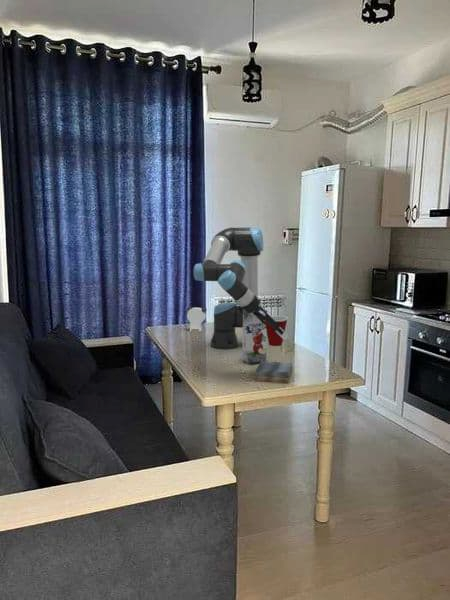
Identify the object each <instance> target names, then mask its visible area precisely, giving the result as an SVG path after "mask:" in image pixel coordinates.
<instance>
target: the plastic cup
mask: <svg viewBox="0 0 450 600" xmlns="http://www.w3.org/2000/svg"><path fill="white" fill-rule="evenodd" d="M270 317H271V318H272V319H274V320H275V321H276V322H277V323H278V324H279V325H280V327H281V328H282V329H283V330H284V331H285V332H286V326H287V322H288V320H289V317H288V316H286V315H285V316H284V315H271V316H270ZM263 321H264V320H263ZM264 322H265V321H264ZM265 326H266V331H267V344H268V345H269V346H271V347H281V346H283V343H284V340H283V339H282V338H281V337H280V336H279V335H278V334H277V333H276V332H274V329H273V328H272V327H271V326H270V325H269V324H268V323H267V322H265Z"/></svg>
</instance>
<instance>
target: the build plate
mask: <svg viewBox="0 0 450 600" xmlns="http://www.w3.org/2000/svg"><path fill="white" fill-rule="evenodd" d="M292 372H293V362H285V361H284V362H283V361H269V360H266V361H261V362H260V363H258V366H257V368H256V369H255V377H254V381H255V382H262V383H263V382H264V383H274V384H275V383H276V384H287V385H289V382H290V378H291V376H292Z"/></svg>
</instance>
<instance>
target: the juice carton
mask: <svg viewBox="0 0 450 600" xmlns="http://www.w3.org/2000/svg"><path fill="white" fill-rule="evenodd" d="M264 310H265V312H266V313H267V314H268V310H267V309H264ZM267 345H268V337H267V331H266V326H265V325H264V323H262V322H261V321H260V320H259V319H258V318H257V317H256V316H255V315H254V314H253V312H251V313H247V312H246V311H245V310H244V309H243V328H242V359H243V361H244V362H245V363H247V364H249V365H255V364H260V362H261V361H267V353H268V352H267V350H268V346H267Z"/></svg>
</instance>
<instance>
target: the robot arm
mask: <svg viewBox="0 0 450 600" xmlns="http://www.w3.org/2000/svg"><path fill="white" fill-rule="evenodd" d="M228 251H232V252H237V256H238V257H239V258H240V260H238V259H237V260H233V261H231V262H230V263H229V264H226V263H223V264H222V261H223V260H224V257H225V255H226V253H228ZM263 251H264V237H263V233H262V230H261V228H259V227H228V228H225V229H222V230H220V231H219V232H218V233H216V234H215V235H214V236H213V238H212V240H211V242H210V248H209V250H208V252H207V254H206V256H205V258H204V260H203V261H202V263H201V262H200V263H196V264H194V266H193V279H194V280H195V281H200V282H217V283H218V284H219V286H220V287H221V289H223V291H225V292H226V293H227V294H228V295H229V296H230V297H231V298H232V299H233V300H234V301H235V302H225V303H219V304H218V303H217V304H216V305H215V306H214V308H213V334H212V336H211V339H210V346H211V347H212V348H214V349H219V350H230V349H236V348H237V347H239V340H238V337H237V333H236V328H241V329H243V309H244V310H245V311H246V312H247V313H251V312H253V314H254V315H255V316H256V317H257V318H258V319H259V320H260V321H261V322H262V323H264V325H265V322H267V323H268V324H269V325H270V326H271V327H272V328H273V329H274V332H276V333H277V334H278V335H279V336H280V337H281V338H282V339H283V342H284V341H286V340H287V339H288V338H289V337H290V336H289V334H288V333H287V332H286V330H285V331H284V330H283V329H282V328H281V327H280V325H279V324H278V323H277V322H276V321H275V320H274V319H272V318H271V316H270V315H269V314H268V312H267V313H266V312H265V310H266V309H265V308H264V306H261V305H262V304H261V301H260V299H259V296H258V295H259V292H258V291H259V289H258V288H259V287H258V285H259V282H258V278H259V277H258V275H259V274H258V272H259V270H258V265H259V264H258V262H259V260H258V259H259V256H261V252H263ZM263 320H264V321H265V322H264V321H263Z"/></svg>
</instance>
